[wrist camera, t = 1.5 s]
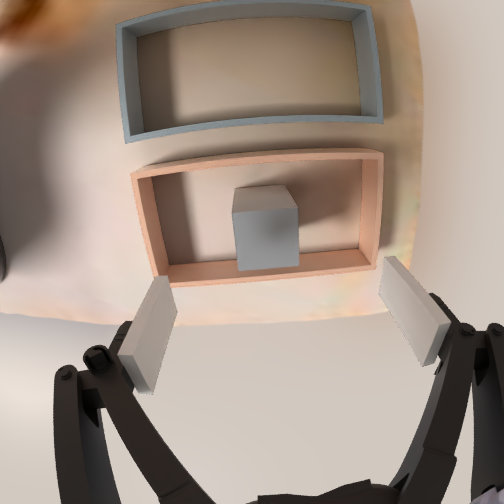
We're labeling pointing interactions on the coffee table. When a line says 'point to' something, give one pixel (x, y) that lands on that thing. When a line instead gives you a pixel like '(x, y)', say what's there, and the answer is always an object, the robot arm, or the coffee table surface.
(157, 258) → the trough
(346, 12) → the trough
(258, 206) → the stone block
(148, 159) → the coffee table surface
